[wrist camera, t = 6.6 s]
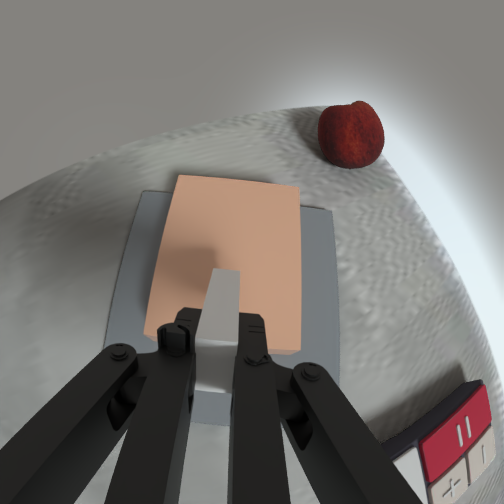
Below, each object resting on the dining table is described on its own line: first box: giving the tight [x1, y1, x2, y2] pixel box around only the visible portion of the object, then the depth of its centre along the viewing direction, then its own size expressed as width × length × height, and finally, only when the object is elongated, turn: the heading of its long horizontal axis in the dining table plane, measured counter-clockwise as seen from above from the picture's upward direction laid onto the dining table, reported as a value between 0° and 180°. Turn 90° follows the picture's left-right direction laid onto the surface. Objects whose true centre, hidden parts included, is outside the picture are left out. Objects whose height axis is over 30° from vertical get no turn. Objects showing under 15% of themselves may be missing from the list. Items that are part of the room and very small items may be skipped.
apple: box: [318, 101, 384, 169], centre depth 27 cm, size 7×8×8 cm
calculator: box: [380, 379, 496, 504], centre depth 14 cm, size 11×4×15 cm
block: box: [143, 175, 301, 355], centre depth 21 cm, size 10×3×13 cm
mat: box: [104, 191, 340, 428], centre depth 21 cm, size 18×19×1 cm
